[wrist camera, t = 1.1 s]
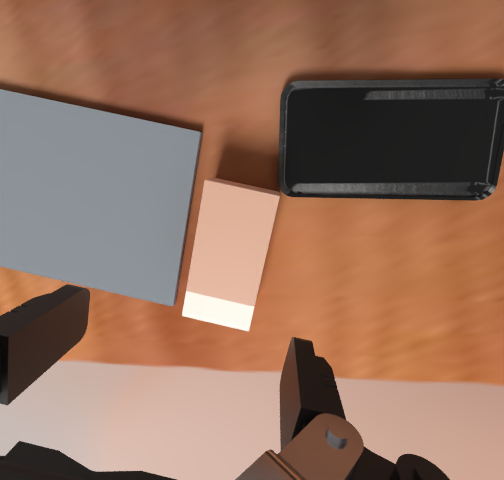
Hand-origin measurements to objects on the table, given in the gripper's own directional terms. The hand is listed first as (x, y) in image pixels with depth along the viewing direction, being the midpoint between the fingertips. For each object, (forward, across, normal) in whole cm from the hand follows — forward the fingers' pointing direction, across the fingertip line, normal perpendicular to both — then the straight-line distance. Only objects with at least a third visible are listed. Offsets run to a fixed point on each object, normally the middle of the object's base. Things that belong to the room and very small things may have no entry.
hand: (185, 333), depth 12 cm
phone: (+14, -9, -10) cm, 19 cm away
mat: (+13, +13, -1) cm, 18 cm away
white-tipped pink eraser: (+13, 0, 0) cm, 13 cm away
